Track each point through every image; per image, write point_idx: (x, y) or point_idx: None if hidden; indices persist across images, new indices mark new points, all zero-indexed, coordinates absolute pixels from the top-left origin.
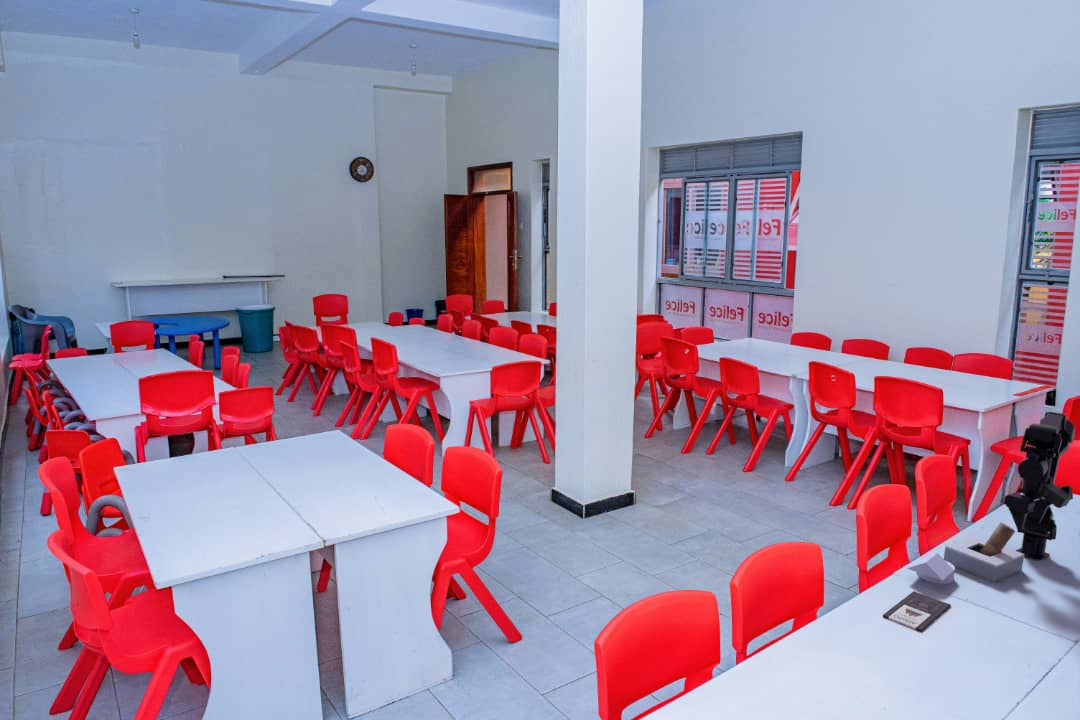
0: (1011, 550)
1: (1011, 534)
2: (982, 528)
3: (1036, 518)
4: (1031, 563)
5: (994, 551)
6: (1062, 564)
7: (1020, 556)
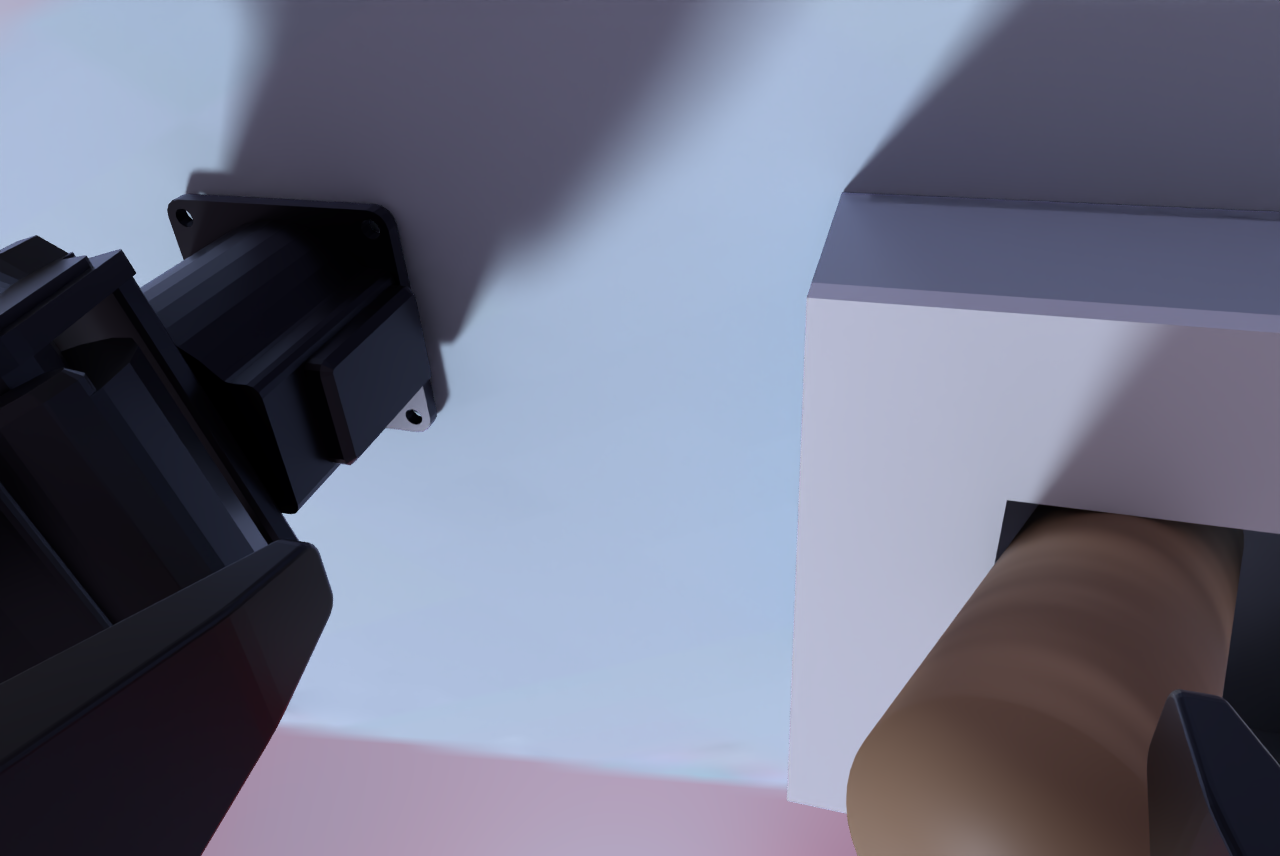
0: (843, 446)
1: (1093, 687)
2: (293, 698)
3: (266, 674)
4: (520, 221)
5: (1210, 574)
6: (209, 10)
7: (923, 299)
